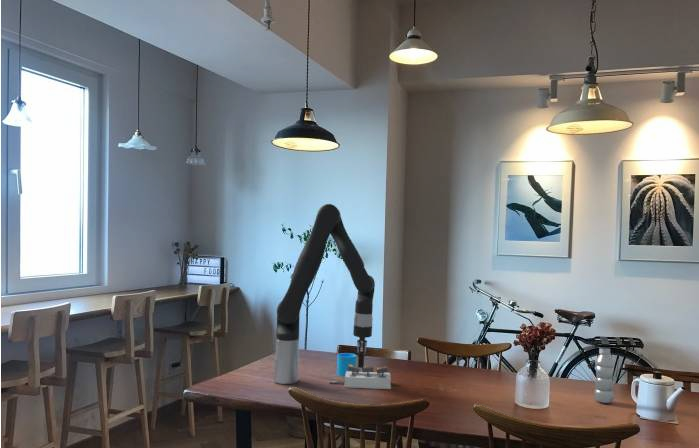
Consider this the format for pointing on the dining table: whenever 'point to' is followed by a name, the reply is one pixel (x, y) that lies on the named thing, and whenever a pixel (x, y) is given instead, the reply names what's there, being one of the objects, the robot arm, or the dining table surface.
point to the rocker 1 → (353, 368)
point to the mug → (345, 362)
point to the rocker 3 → (382, 369)
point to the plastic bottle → (604, 376)
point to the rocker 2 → (367, 369)
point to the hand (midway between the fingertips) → (360, 367)
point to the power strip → (366, 380)
